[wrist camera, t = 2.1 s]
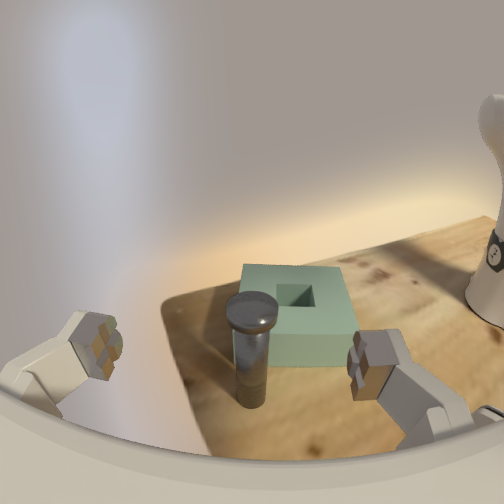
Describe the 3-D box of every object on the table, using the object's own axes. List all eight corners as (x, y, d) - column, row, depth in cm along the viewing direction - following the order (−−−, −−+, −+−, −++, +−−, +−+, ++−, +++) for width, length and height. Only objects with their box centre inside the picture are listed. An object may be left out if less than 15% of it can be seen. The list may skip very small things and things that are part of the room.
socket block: (333, 297, 48) (339, 267, 45) (349, 366, 35) (361, 333, 32) (243, 294, 49) (243, 263, 46) (234, 364, 36) (232, 331, 33)
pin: (270, 383, 33) (278, 291, 27) (269, 413, 29) (278, 325, 23) (234, 381, 34) (229, 289, 27) (230, 411, 30) (222, 322, 23)
